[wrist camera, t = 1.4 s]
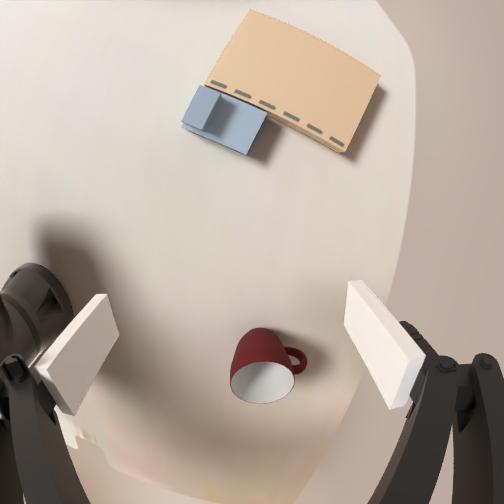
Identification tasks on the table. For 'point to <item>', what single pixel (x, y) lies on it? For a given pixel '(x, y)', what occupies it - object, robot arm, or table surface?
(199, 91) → the stub
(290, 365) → the mug
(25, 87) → the table surface
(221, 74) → the board
